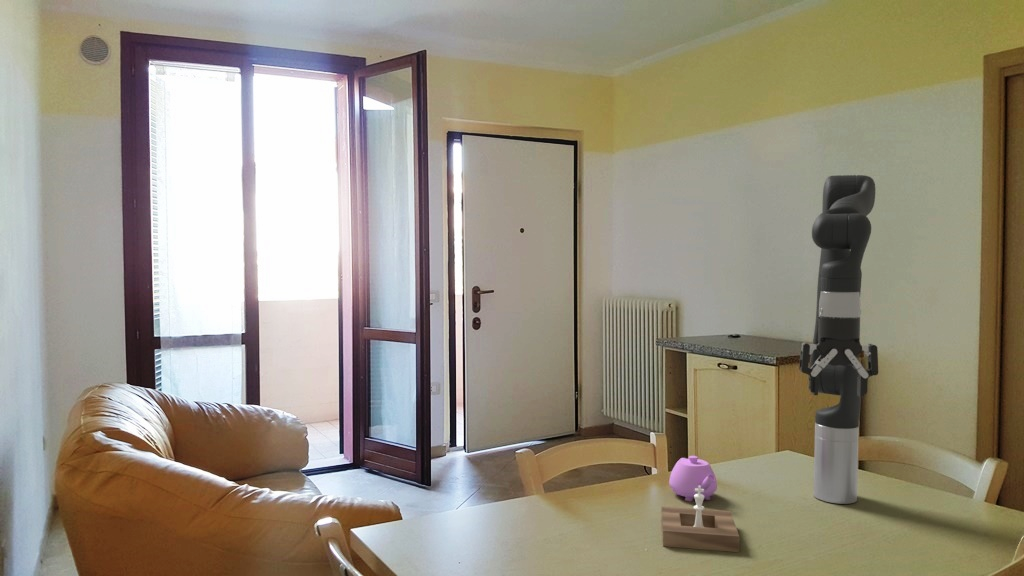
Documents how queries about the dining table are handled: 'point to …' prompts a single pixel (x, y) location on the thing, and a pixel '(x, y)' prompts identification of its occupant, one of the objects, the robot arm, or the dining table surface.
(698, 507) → the chess piece
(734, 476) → the dining table surface
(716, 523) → the socket block
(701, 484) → the teapot
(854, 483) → the robot arm
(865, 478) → the dining table surface
